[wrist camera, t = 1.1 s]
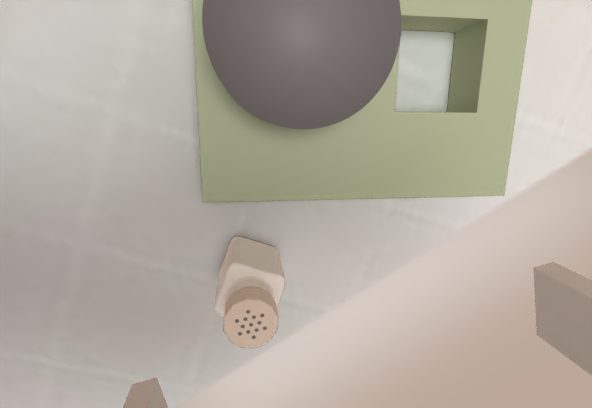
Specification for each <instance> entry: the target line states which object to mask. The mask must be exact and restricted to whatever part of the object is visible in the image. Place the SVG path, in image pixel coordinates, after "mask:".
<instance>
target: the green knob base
mask: <svg viewBox="0 0 592 408" xmlns="http://www.w3.org/2000/svg"><path fill="white" fill-rule="evenodd" d="M531 6H532V0H192V7H193V27H194V46H195V66H196V85H197V105H198V124H199V143H200V163H201V182H202V202H242V201H288V200H334V199H381V198H427V197H473V196H504V194H505V187H506V180H507V173H508V166H509V159H510V152H511V145H512V138H513V131H514V124H515V117H516V110H517V103H518V96H519V89H520V82H521V75H522V69H523V62H524V55H525V48H526V41H527V34H528V27H529V20H530V13H531ZM401 30H417V31H441V32H455V37H454V47H453V56H452V66H451V76H450V86H449V96H448V106H447V112H395V102H396V87H397V73H398V58H399V44H400V36H401Z"/></svg>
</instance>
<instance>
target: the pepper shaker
mask: <svg viewBox="0 0 592 408" xmlns="http://www.w3.org/2000/svg"><path fill="white" fill-rule="evenodd" d="M284 287H285V277H284V273H283V269H282V265H281V261H280V257H279V253H278V250H277V249H276V248H274V247H272V246H269V245H266V244H263V243H259V242H256V241H253V240H250V239H246V238H243V237H234V238H233V239H232V240H231V242H230V245H229V247H228V250H227V253H226V256H225V259H224V262H223V264H222V267H221V270H220V273H219V279H218V286H217V292H216V299H215V305H214V306H215V311H216V312H217V313H218V314H219V315H220V316H221V317H224V326H223V330H224V332H225V334H226V336H227V337H228V339H229V341H230V342H232V343H234V344H236V345H238V346H240V347H241V348H257V347H259V346H261V345H263V344H265V343H267V342H269V341H270V340H271V338H272V337H273V336H274V334H275V333H276V332H277V327H278V313H277V306H278V304H279V301H280V298H281V296H282V293H283V290H284Z"/></svg>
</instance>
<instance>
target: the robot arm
mask: <svg viewBox="0 0 592 408" xmlns="http://www.w3.org/2000/svg"><path fill="white" fill-rule="evenodd" d="M534 286H535V307H536V326H537V335H538V336H539V337H541V338H542V339H543V340H545V341H546V342H547V343H549V344H550V345H551V346H553V347H554V348H555V349H557V350H558V351H559V352H561V353H562V354H563V355H565V356H566V357H567V358H569V359H570V360H571V361H573V362H574V363H575V364H577V365H578V366H579V367H581V368H582V369H584V370H585V371H586V372H588V373H589V374H590V375H591V376H592V280H590V279H588V278H586V277H584V276H582V275H580V274H577V273H575V272H573V271H571V270H569V269H567V268H565V267H563V266H561V265H559V264H557V263H554V262H552V263H548V264H545V265H542V266H538V267H535V268H534ZM123 408H168V406H167V403H166V401H165V398H164V396H163V393H162V391H161V388H160V385H159V383H158V380H157V378H153V379H150V380H146V381H143V382H139V383H136V384H132V386H131V389H130V391H129V394H128V396H127V399H126V402H125V404H124V407H123Z"/></svg>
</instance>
